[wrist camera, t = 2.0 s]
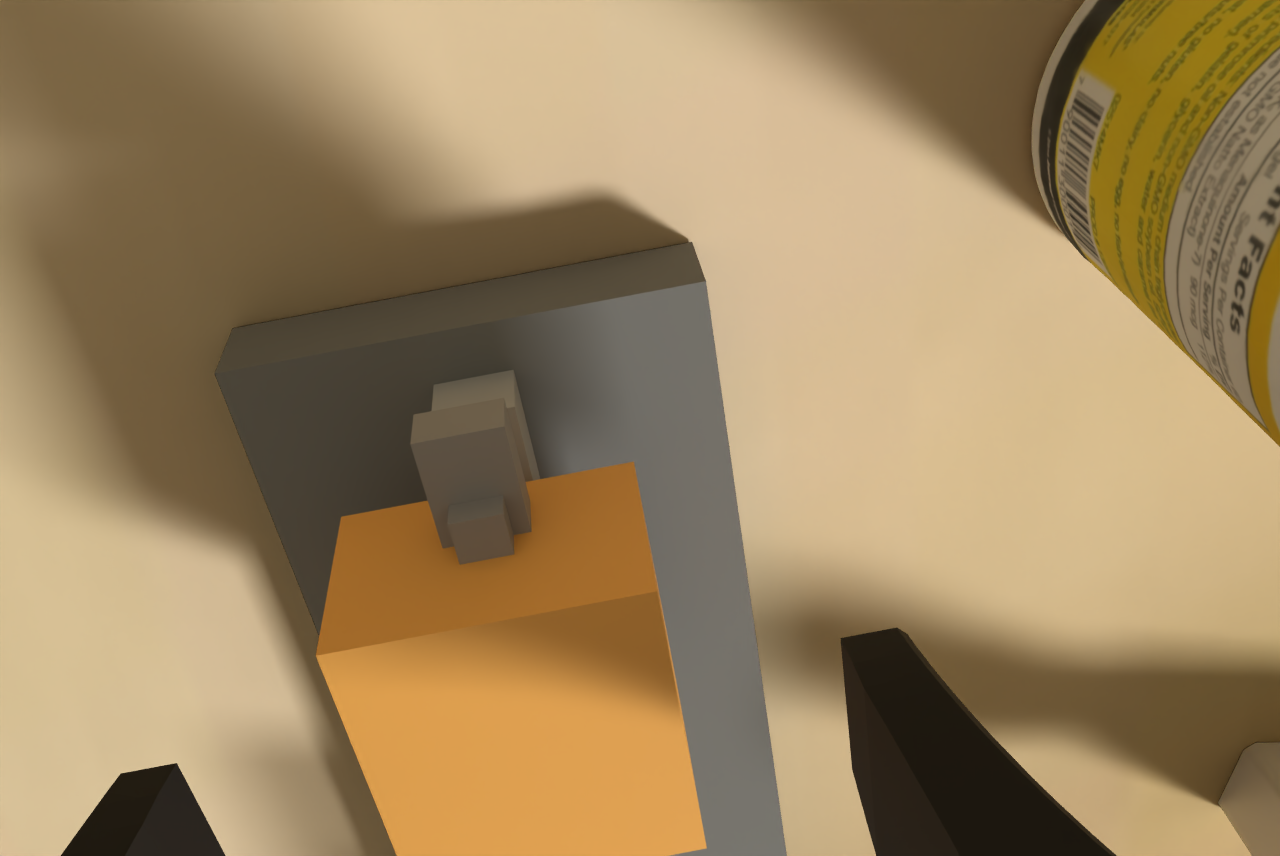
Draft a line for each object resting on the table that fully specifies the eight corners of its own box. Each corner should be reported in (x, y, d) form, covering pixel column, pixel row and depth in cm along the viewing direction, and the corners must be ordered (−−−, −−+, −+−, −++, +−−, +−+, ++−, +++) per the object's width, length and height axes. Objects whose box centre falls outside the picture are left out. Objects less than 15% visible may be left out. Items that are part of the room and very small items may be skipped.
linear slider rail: (793, 947, 24) (873, 1281, 19) (490, 1005, 24) (489, 1355, 19) (692, 242, 16) (783, 500, 11) (233, 328, 16) (112, 627, 11)
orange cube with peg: (679, 703, 16) (706, 848, 14) (426, 751, 16) (416, 903, 14) (613, 358, 14) (635, 478, 12) (305, 417, 14) (270, 547, 11)
